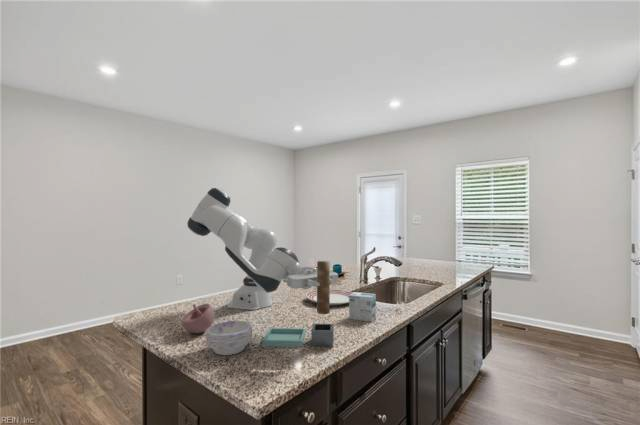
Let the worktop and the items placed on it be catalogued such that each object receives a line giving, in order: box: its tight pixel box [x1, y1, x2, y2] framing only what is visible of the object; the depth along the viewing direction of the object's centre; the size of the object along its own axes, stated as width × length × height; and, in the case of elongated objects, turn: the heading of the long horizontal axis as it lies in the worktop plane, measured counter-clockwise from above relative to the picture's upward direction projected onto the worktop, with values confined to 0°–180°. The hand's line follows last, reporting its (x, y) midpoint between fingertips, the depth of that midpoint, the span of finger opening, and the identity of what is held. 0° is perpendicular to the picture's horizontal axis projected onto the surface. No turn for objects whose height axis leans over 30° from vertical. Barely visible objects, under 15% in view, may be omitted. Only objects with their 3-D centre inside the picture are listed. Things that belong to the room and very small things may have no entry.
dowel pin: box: [316, 260, 331, 315], centre depth 113 cm, size 4×4×18 cm
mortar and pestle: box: [181, 303, 215, 334], centre depth 125 cm, size 12×12×12 cm
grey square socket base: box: [310, 322, 335, 348], centre depth 113 cm, size 8×8×6 cm
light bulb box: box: [348, 291, 377, 323], centre depth 139 cm, size 11×7×11 cm, turn 65°
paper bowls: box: [205, 320, 253, 356], centre depth 109 cm, size 15×15×8 cm
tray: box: [261, 327, 307, 348], centre depth 116 cm, size 14×12×2 cm
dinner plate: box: [305, 288, 353, 307], centre depth 168 cm, size 28×27×3 cm
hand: (324, 283), depth 112 cm, fingers closed on dowel pin, 4 cm apart
